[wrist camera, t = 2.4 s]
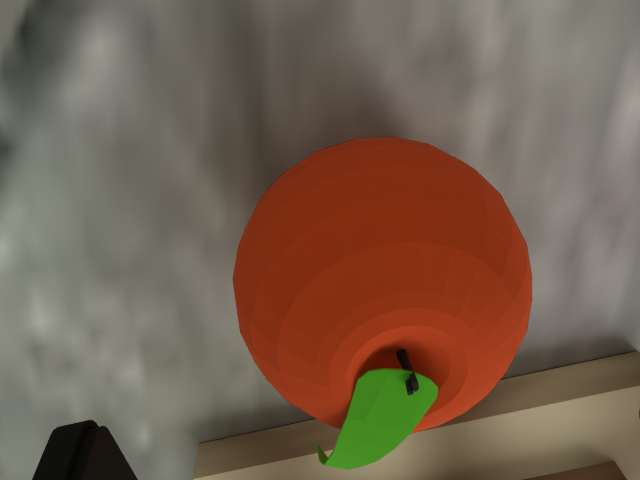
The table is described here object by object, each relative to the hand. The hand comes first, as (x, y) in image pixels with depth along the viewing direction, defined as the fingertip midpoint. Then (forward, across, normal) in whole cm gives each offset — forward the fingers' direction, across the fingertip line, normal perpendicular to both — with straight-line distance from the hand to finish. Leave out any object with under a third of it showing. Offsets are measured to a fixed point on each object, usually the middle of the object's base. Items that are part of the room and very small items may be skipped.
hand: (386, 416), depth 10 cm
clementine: (+8, 0, +1) cm, 8 cm away
